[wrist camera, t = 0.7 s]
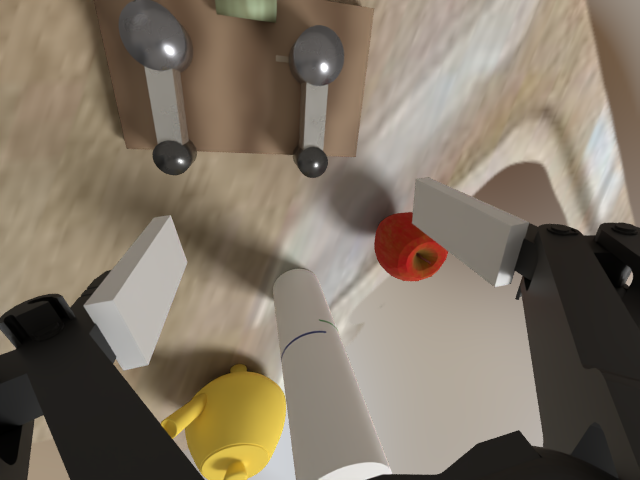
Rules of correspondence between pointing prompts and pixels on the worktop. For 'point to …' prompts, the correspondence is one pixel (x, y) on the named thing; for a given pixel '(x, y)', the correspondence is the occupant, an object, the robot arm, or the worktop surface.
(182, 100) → the knob
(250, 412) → the teapot
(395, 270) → the apple
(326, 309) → the cylindrical container
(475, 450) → the robot arm
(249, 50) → the levelling board
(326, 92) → the knob
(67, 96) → the worktop surface
